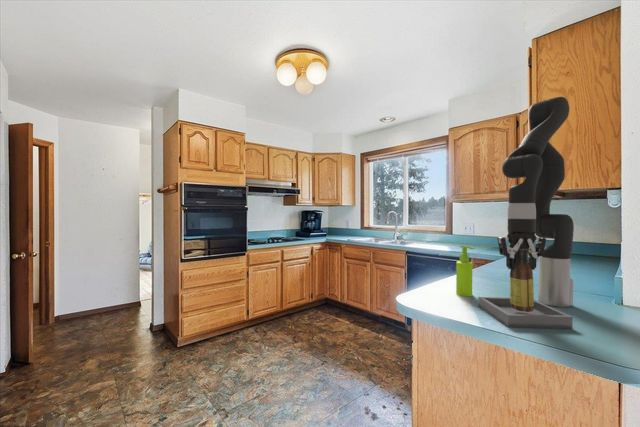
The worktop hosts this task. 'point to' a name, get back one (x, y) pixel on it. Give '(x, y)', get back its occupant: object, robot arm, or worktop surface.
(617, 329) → the worktop surface
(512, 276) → the sauce bottle
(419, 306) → the worktop surface
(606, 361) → the worktop surface
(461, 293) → the soap dispenser
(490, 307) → the charcoal tray
